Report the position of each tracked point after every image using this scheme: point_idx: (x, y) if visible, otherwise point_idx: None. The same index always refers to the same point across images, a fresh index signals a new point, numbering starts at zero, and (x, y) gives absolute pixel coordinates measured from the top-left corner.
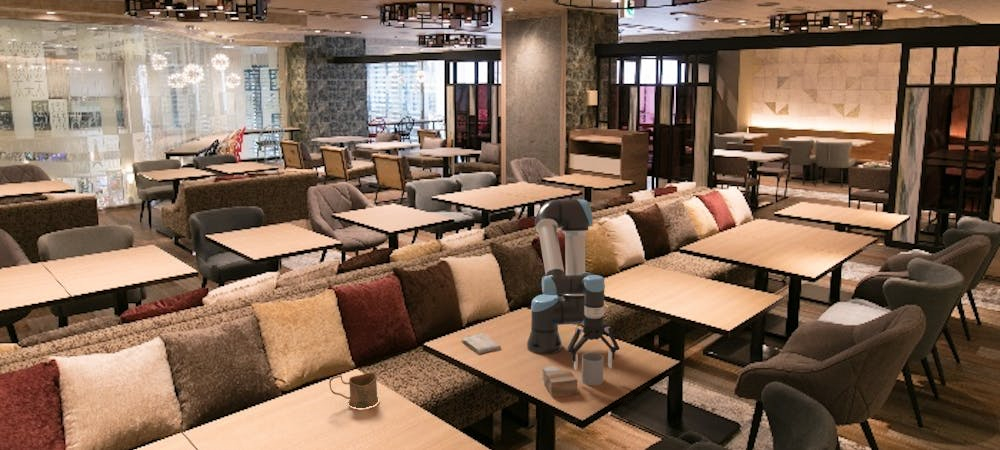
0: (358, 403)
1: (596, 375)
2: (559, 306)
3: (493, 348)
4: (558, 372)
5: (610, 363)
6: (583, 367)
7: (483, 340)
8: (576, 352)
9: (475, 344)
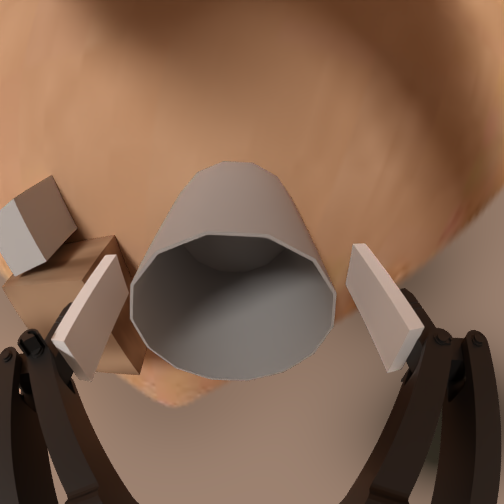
0: None
1: (244, 304)
2: None
3: None
4: (47, 306)
5: (359, 306)
6: (161, 294)
7: None
8: (77, 391)
9: None
